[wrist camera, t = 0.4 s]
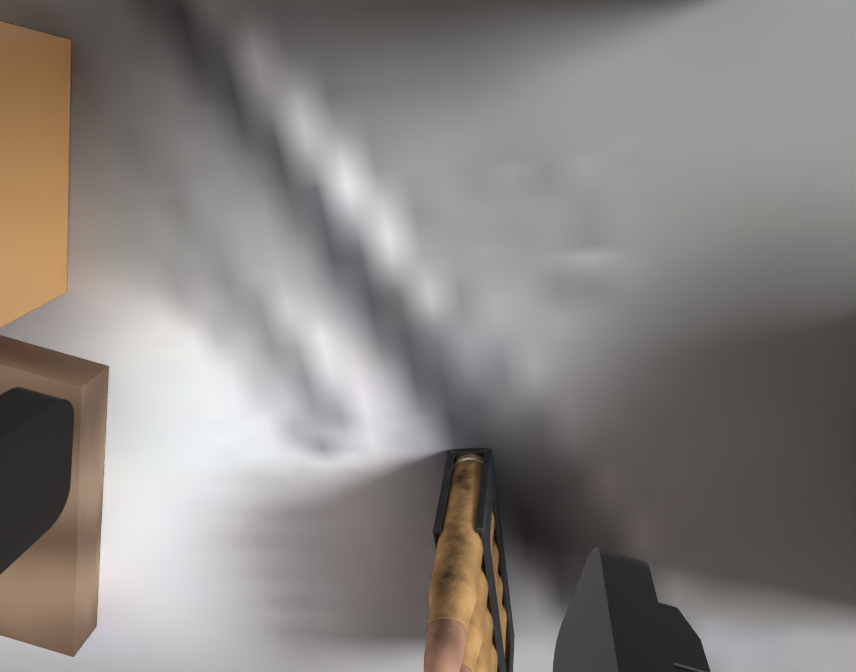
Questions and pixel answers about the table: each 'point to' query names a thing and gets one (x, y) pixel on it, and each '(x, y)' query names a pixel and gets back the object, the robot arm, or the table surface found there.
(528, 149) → the table surface
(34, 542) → the robot arm
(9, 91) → the ring
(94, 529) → the stand
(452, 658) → the ammunition clip
